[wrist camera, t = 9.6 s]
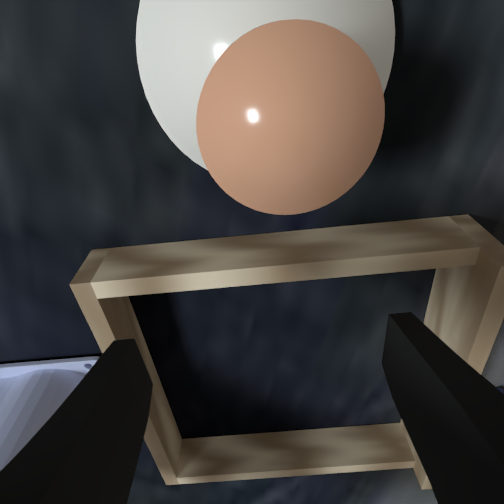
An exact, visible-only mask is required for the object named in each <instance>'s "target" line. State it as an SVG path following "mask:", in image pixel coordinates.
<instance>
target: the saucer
mask: <svg viewBox="0 0 504 504" xmlns="http://www.w3.org/2000/svg"><path fill="white" fill-rule="evenodd" d="M291 19H301V20H312V21H316V22H320V23H324V24H327V25H329V26H331V27H334V28H336V29H338V30H340V31H341V32H343V33H344V34H346V35H348V36H349V37H350V38H351V39H352V40H354V41H355V42H356V43H357V44H358V45H359V46H360V47H361V48H362V49H363V51H364V52H365V53H366V54H367V55H368V57H369V59H370V60H371V62H372V64H373V65H374V67H375V69H376V71H377V74H378V76H379V79H380V82H381V86H382V90H383V94H384V91H385V89H386V86H387V82H388V79H389V75H390V71H391V67H392V61H393V55H394V44H395V22H394V9H393V4H392V0H140V5H139V11H138V17H137V28H136V50H137V62H138V67H139V73H140V78H141V82H142V85H143V88H144V91H145V95H146V97H147V100H148V102H149V104H150V107H151V109H152V111H153V113H154V115H155V117H156V118H157V120H158V122H159V124H160V125H161V127H162V128H163V130H164V131H165V132H166V134H167V135H168V137H169V138H170V139H171V140H172V141H173V143H174V144H175V145H176V146H177V147H178V148H179V149H180V150H181V151H182V152H183V153H184V154H186V155H187V156H188V157H189V158H190V159H191V160H193V161H194V162H195V163H197V164H199V165H200V166H202V167H203V168H205V169H206V170H208V169H207V167H206V165H205V163H204V160H203V158H202V156H201V152H200V149H199V145H198V139H197V133H196V115H197V106H198V102H199V98H200V94H201V91H202V88H203V85H204V83H205V80H206V78H207V76H208V75H209V73H210V71H211V69H212V67H213V66H214V64H215V63H216V61H217V60H218V58H219V57H220V56H221V54H222V53H223V52H224V51H225V50H226V49H227V48H228V47H229V46H230V45H231V44H232V43H233V42H234V41H235V40H237V39H238V38H239V37H241V36H242V35H243V34H245V33H247V32H249V31H250V30H252V29H254V28H256V27H259V26H261V25H264V24H266V23H270V22H274V21H279V20H291Z"/></svg>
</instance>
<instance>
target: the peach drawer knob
mask: <svg viewBox="0 0 504 504" xmlns="http://www.w3.org/2000/svg"><path fill="white" fill-rule="evenodd" d="M384 119H385V103H384V95H383V90H382V86H381V82H380V79H379V76H378V74H377V71H376V69H375V67H374V65H373V64H372V62H371V60H370V59H369V57H368V55H367V54H366V53H365V52H364V51H363V49H362V48H361V47H360V46H359V45H358V44H357V43H356V42H355V41H354V40H352V39H351V38H350V37H349V36H348V35H346V34H344V33H343V32H341V31H340V30H338V29H336V28H334V27H331V26H329V25H327V24H324V23H320V22H316V21H312V20H301V19H291V20H279V21H274V22H270V23H266V24H264V25H261V26H259V27H256V28H254V29H252V30H250V31H249V32H247V33H245V34H243V35H242V36H241V37H239V38H238V39H237V40H235V41H234V42H233V43H232V44H231V45H230V46H229V47H228V48H227V49H226V50H225V51H224V52H223V53H222V54H221V56H220V57H219V58H218V60H217V61H216V63H215V64H214V66H213V67H212V69H211V71H210V73H209V75H208V76H207V78H206V80H205V83H204V85H203V88H202V91H201V94H200V98H199V102H198V106H197V115H196V133H197V139H198V145H199V149H200V152H201V156H202V158H203V160H204V163H205V165H206V167H207V169H208V171H209V172H210V174H211V176H212V177H213V179H214V180H215V181H216V182H217V184H218V185H219V186H220V187H221V188H222V189H223V190H224V191H225V192H226V193H227V194H228V195H229V196H231V197H232V198H233V199H235V200H236V201H238V202H240V203H241V204H243V205H245V206H247V207H249V208H252V209H254V210H257V211H261V212H264V213H270V214H277V215H291V214H299V213H305V212H309V211H312V210H315V209H318V208H320V207H323V206H325V205H327V204H329V203H331V202H332V201H334V200H336V199H338V198H339V197H340V196H342V195H343V194H344V193H346V192H347V191H348V190H349V189H350V188H351V187H352V186H353V185H354V184H355V183H356V182H357V181H358V180H359V179H360V178H361V176H362V175H363V174H364V172H365V171H366V170H367V168H368V167H369V165H370V163H371V161H372V160H373V158H374V156H375V154H376V151H377V149H378V146H379V143H380V140H381V136H382V132H383V127H384Z"/></svg>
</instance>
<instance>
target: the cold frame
mask: <svg viewBox="0 0 504 504" xmlns="http://www.w3.org/2000/svg"><path fill="white" fill-rule="evenodd" d="M425 269H436V272H435V276H434V281H433V285H432V289H431V293H430V298H429V302H428V306H427V311H426V315H425V319H424V324H425V325H426V326H427V327H428V328H429V329H430V330H431V331H432V332H433V333H434V334H435V335H437V336H438V337H439V338H440V339H441V340H442V341H443V342H444V343H445V344H446V345H448V346H449V347H450V348H451V349H452V350H453V351H454V352H455V353H456V354H458V355H459V356H460V357H461V358H462V359H463V360H464V361H465V362H467V363H468V364H469V365H470V366H471V367H472V368H474V369H475V370H476V371H477V372H478V373H479V374H482V371H483V369H484V366H485V364H486V361H487V359H488V356H489V354H490V351H491V349H492V346H493V344H494V341H495V339H496V336H497V334H498V331H499V329H500V326H501V324H502V321H503V319H504V245H503V244H502V243H500V242H499V241H498V240H497V239H496V238H495V237H494V236H492V235H491V234H490V233H489V232H488V231H487V230H485V229H484V228H483V227H482V226H481V225H480V224H479V223H477V222H476V221H475V220H474V219H473V218H472V217H471V216H469V215H468V214H466V215H456V216H445V217H435V218H424V219H413V220H403V221H392V222H381V223H371V224H360V225H350V226H339V227H328V228H318V229H307V230H297V231H286V232H275V233H265V234H254V235H244V236H233V237H222V238H212V239H201V240H191V241H180V242H169V243H159V244H148V245H138V246H127V247H116V248H106V249H95V250H92V251H91V252H90V254H89V255H88V257H87V258H86V260H85V261H84V263H83V264H82V266H81V267H80V269H79V270H78V272H77V273H76V275H75V277H74V278H73V280H72V281H71V283H70V284H69V285H70V287H71V289H72V291H73V293H74V295H75V297H76V299H77V301H78V303H79V306H80V308H81V310H82V312H83V314H84V316H85V318H86V320H87V322H88V324H89V326H90V328H91V330H92V332H93V334H94V336H95V339H96V341H97V343H98V345H99V347H100V349H101V351H102V353H104V352H105V350H106V349H107V348H108V347H109V346H110V344H111V343H112V342H113V341H114V340H123V339H134V338H135V341H136V343H137V346H138V348H139V351H140V353H141V356H142V358H143V361H144V363H145V365H146V368H147V370H148V373H149V375H150V378H151V380H152V383H153V388H152V396H151V404H150V411H149V418H148V422H147V427H146V431H145V435H144V440H145V442H146V444H147V446H148V448H149V450H150V452H151V454H152V456H153V458H154V460H155V462H156V464H157V467H158V469H159V471H160V473H161V475H162V477H163V479H164V481H165V483H166V485H173V484H188V483H202V482H216V481H231V480H245V479H259V478H273V477H288V476H302V475H316V474H331V473H345V472H359V471H374V470H388V469H402V468H413V469H414V471H415V474H416V477H417V479H418V482H419V484H420V487H421V490H423V489H432V487H431V484H430V482H429V479H428V477H427V475H426V473H425V470H424V468H423V466H422V464H421V461H420V459H419V457H418V455H417V452H416V450H415V448H414V446H413V443H412V441H411V439H410V437H409V434H408V432H407V430H406V428H405V425H404V423H403V421H402V419H401V422H400V423H390V424H377V425H363V426H350V427H336V428H323V429H309V430H296V431H283V432H269V433H256V434H242V435H229V436H215V437H202V438H189V439H182V438H181V435H180V432H179V430H178V427H177V424H176V422H175V419H174V416H173V414H172V411H171V408H170V406H169V403H168V400H167V398H166V395H165V392H164V390H163V387H162V384H161V382H160V379H159V377H158V374H157V371H156V369H155V366H154V363H153V361H152V358H151V355H150V353H149V350H148V347H147V345H146V342H145V339H144V337H143V334H142V331H141V329H140V326H139V323H138V321H137V318H136V315H135V313H134V310H133V307H132V305H131V302H130V300H129V297H128V296H134V295H145V294H156V293H168V292H179V291H190V290H201V289H212V288H224V287H235V286H246V285H257V284H268V283H280V282H291V281H302V280H313V279H324V278H336V277H347V276H358V275H369V274H380V273H392V272H403V271H414V270H425Z"/></svg>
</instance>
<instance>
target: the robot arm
mask: <svg viewBox="0 0 504 504" xmlns="http://www.w3.org/2000/svg"><path fill="white" fill-rule="evenodd" d="M382 365H383V369H384V372H385V375H386V379H387V382H388V385H389V388H390V391H391V394H392V398H393V400H394V402H395V405H396V407H397V409H398V412H399V414H400V416H401V419H402V421H403V423H404V425H405V428H406V430H407V432H408V434H409V437H410V439H411V441H412V443H413V446H414V448H415V450H416V452H417V455H418V457H419V459H420V461H421V464H422V466H423V468H424V470H425V473H426V475H427V477H428V479H429V482H430V484H431V487H432V489H433V492H434V494H435V497H436V499H437V502H438V504H504V393H502V392H501V391H500V390H499V389H497V388H496V387H495V386H494V385H493V384H491V383H490V382H489V381H488V380H487V379H485V378H484V377H483V376H482V375H481V374H479V373H478V372H477V371H476V370H475V369H474V368H472V367H471V366H470V365H469V364H468V363H467V362H465V361H464V360H463V359H462V358H461V357H460V356H459V355H458V354H456V353H455V352H454V351H453V350H452V349H451V348H450V347H449V346H448V345H446V344H445V343H444V342H443V341H442V340H441V339H440V338H439V337H438V336H437V335H435V334H434V333H433V332H432V331H431V330H430V329H429V328H428V327H427V326H426V325H425V324H424V323H422V322H421V321H420V320H419V319H418V318H417V317H416V316H415V315H414V314H413V313H411V312H408V313H397V314H389V316H388V323H387V331H386V338H385V345H384V352H383V359H382ZM152 388H153V383H152V380H151V378H150V375H149V373H148V370H147V368H146V365H145V363H144V361H143V358H142V356H141V353H140V351H139V348H138V346H137V343H136V341H135V338H134V339H123V340H114V341H113V342H112V343H111V344H110V346H109V347H108V348H107V349H106V350H105V352H104V353H103V354H102V355H101V356H100V357H99V356H93V357H81V358H69V359H57V360H45V361H33V362H21V363H9V364H0V504H127V500H128V496H129V493H130V489H131V485H132V481H133V477H134V473H135V470H136V466H137V462H138V458H139V454H140V450H141V446H142V442H143V439H144V435H145V431H146V427H147V422H148V418H149V411H150V404H151V396H152Z"/></svg>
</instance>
